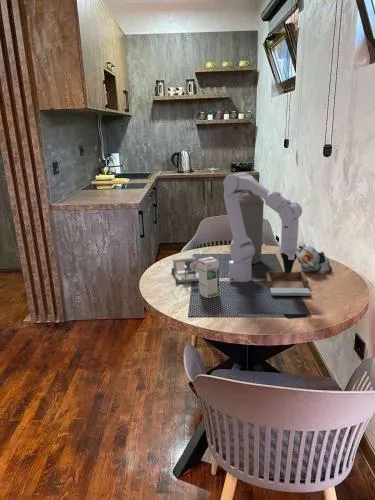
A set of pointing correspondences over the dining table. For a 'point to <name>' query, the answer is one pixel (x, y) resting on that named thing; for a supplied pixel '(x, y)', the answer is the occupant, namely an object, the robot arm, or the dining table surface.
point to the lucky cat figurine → (313, 260)
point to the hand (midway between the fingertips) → (287, 272)
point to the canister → (253, 220)
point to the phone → (295, 315)
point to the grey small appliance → (185, 270)
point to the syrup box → (209, 277)
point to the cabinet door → (290, 291)
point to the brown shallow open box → (286, 279)
